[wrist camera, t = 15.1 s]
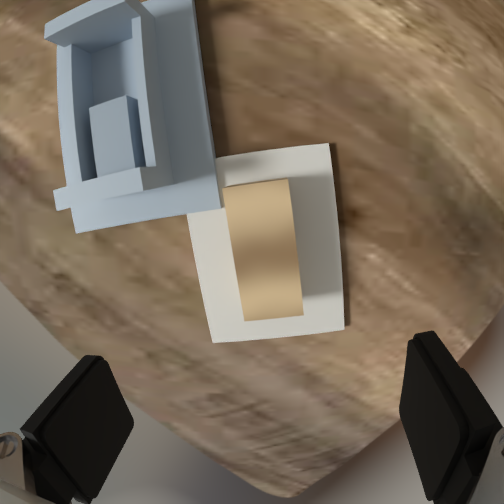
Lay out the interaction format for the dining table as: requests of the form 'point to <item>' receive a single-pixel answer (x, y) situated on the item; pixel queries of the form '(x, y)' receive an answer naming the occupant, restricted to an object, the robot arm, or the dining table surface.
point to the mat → (307, 241)
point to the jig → (132, 113)
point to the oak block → (264, 248)
